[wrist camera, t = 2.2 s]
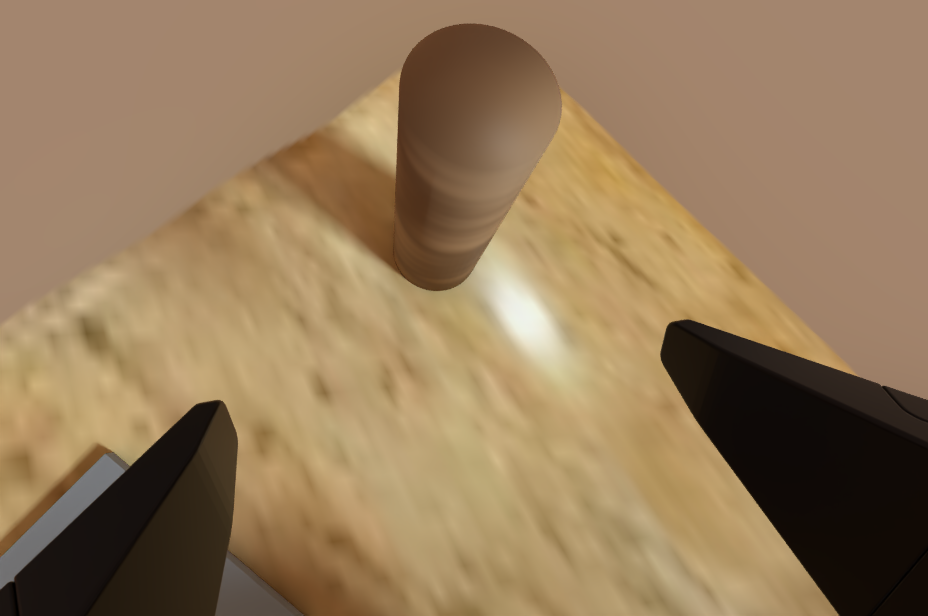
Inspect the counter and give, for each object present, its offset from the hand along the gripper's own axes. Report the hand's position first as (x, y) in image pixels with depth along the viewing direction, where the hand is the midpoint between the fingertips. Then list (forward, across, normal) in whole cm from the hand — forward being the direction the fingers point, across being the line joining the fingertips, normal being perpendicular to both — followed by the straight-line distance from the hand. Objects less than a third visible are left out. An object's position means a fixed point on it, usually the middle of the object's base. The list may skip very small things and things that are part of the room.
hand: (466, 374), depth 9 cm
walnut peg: (+15, -2, +4) cm, 16 cm away
